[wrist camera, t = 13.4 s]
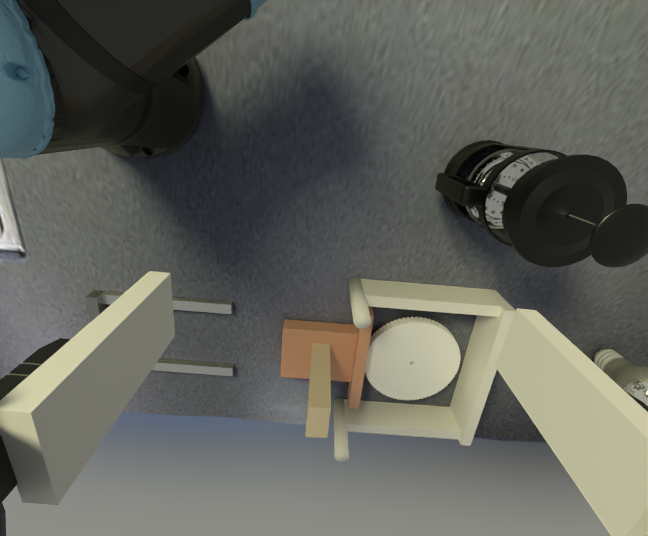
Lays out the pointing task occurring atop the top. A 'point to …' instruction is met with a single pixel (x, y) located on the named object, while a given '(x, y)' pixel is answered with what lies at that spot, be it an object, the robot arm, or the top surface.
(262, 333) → the top surface
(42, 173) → the top surface
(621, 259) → the french press
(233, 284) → the top surface
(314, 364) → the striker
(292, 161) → the top surface
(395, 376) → the plastic lid
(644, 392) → the light bulb
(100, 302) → the rail track
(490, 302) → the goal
